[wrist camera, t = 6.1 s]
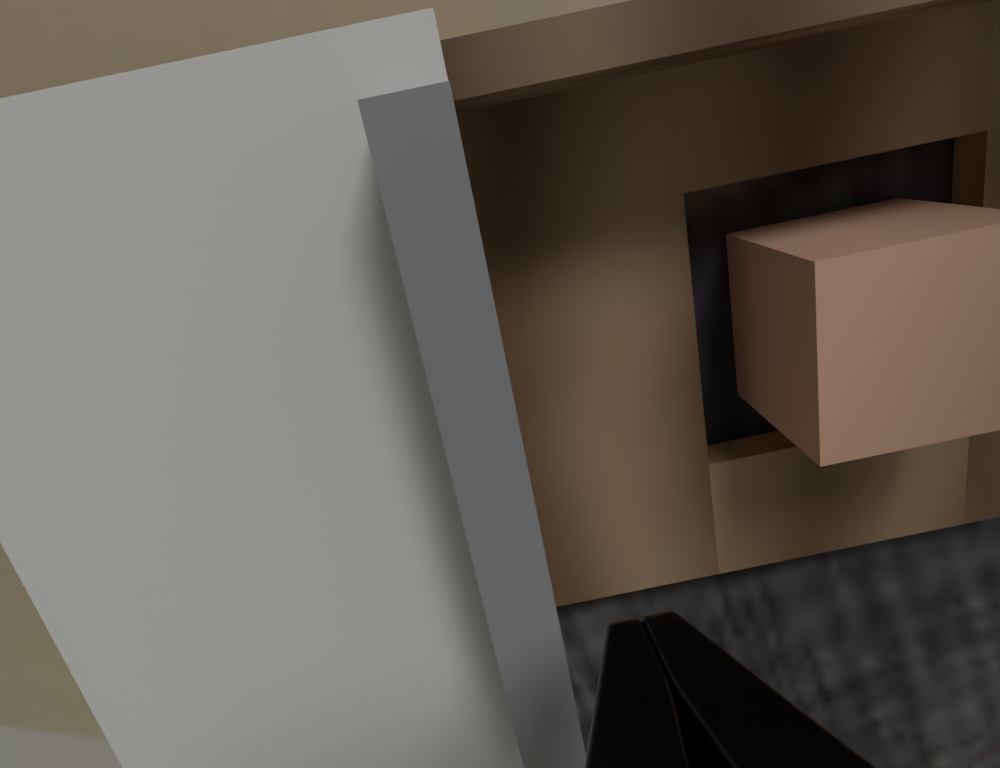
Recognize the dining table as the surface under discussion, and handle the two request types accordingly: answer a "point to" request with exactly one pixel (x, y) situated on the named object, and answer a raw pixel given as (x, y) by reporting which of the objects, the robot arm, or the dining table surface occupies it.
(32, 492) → the cover
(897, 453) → the brown open box
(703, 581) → the dining table surface
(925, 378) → the block
